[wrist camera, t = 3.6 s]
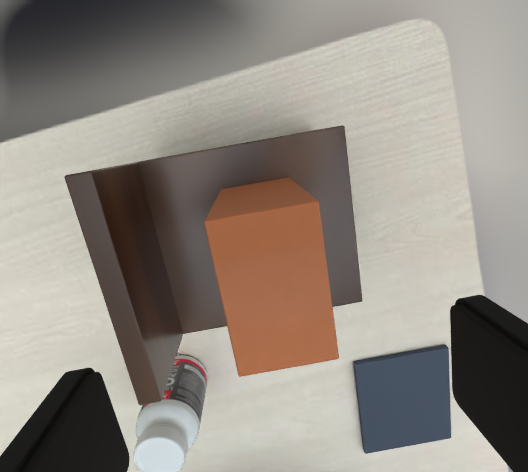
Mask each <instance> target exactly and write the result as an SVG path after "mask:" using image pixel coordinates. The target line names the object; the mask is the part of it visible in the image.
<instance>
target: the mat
mask: <svg viewBox="0 0 528 472" xmlns="http://www.w3.org/2000/svg"><path fill="white" fill-rule="evenodd" d="M353 364H354V372H355V381H356V389H357V398H358V406H359V415H360V424H361V432H362V441H363V449H364V452H365V454H366V453H372V452H377V451H383V450H388V449H394V448H399V447H405V446H410V445H416V444H421V443H426V442H432V441H437V440H443V439H448V438H451V420H450V386H449V351H448V347H447V346H446V345H441V346H436V347H430V348H425V349H419V350H414V351H408V352H403V353H397V354H392V355H386V356H381V357H375V358H370V359H364V360H359V361H354V362H353Z"/></svg>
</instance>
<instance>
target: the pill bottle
mask: <svg viewBox="0 0 528 472" xmlns="http://www.w3.org/2000/svg"><path fill="white" fill-rule="evenodd" d="M206 385H207V373H206V370H205V368H204V366H203V365H202V364H201V363H200V362H199V361H198V360H196V359H194V358H192V357H189V356H184V355H179V356H176V357H175V360H174V363H173V367H172V370H171V373H170V376H169V379H168V382H167V385H166V388H165V391H164V394H163V397H162V400H161V401H160V402H155V403H149V404H144V405H143V406H142V409H141V411H140V413H139V415H138V419H137V423H136V436H137V438H138V440H137V443H136V446H135V450H134V454H133V458H134V463H135V465H136V466H137V468H138V469H139V470H140V471H141V472H178V471H179V470H180V469H181V467H182V466H183V464H184V461H185V458H186V454H187V451H188V449H189V448H190V447H191V446H192V445H193V444H194V442H195V441H196V439H197V436H198V433H199V428H200V421H201V415H202V409H203V402H204V397H205V391H206Z"/></svg>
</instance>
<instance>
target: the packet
mask: <svg viewBox="0 0 528 472" xmlns="http://www.w3.org/2000/svg"><path fill="white" fill-rule="evenodd" d="M204 224H205V229H206V233H207V238H208V242H209V246H210V251H211V255H212V260H213V264H214V269H215V273H216V277H217V282H218V286H219V291H220V295H221V300H222V304H223V309H224V313H225V317H226V322H227V326H228V331H229V335H230V340H231V344H232V348H233V353H234V357H235V362H236V366H237V371H238V375H239V376H240V377H241V376H246V375H252V374H257V373H263V372H268V371H274V370H279V369H285V368H290V367H296V366H301V365H307V364H313V363H318V362H324V361H329V360H335V359H338V358H339V354H338V347H337V339H336V331H335V324H334V316H333V308H332V300H331V293H330V285H329V277H328V270H327V262H326V254H325V246H324V239H323V231H322V223H321V216H320V208H319V202H318V201H317V200H316V199H315V198H314V197H313V196H311V195H310V194H309V193H308V192H306V191H305V190H304V189H303V188H302V187H300V186H299V185H298V184H297V183H295V182H294V181H293V180H292V179H291V178H289V177H287V178H282V179H276V180H271V181H265V182H260V183H254V184H248V185H243V186H237V187H232V188H226V189H221V190H220V192H219V194H218V196H217V198H216V200H215V202H214V204H213V206H212V208H211V210H210V211H209V213H208V215H207V217H206V219H205V221H204Z"/></svg>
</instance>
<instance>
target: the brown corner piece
mask: <svg viewBox="0 0 528 472" xmlns="http://www.w3.org/2000/svg"><path fill="white" fill-rule="evenodd" d="M287 177H289V178H291V179H292V180H293V181H294V182H295V183H297V184H298V185H299V186H300V187H302V188H303V189H304V190H305V191H306V192H308V193H309V194H310V195H311V196H313V197H314V198H315V199H316V200H317V201H318V202H319V208H320V216H321V223H322V231H323V239H324V246H325V254H326V262H327V270H328V277H329V285H330V293H331V300H332V307H334V306H340V305H345V304H351V303H356V302H362V293H361V283H360V273H359V263H358V254H357V244H356V234H355V225H354V215H353V205H352V195H351V186H350V176H349V166H348V157H347V147H346V137H345V127H344V126H337V127H331V128H325V129H319V130H313V131H308V132H302V133H296V134H291V135H285V136H280V137H274V138H268V139H263V140H257V141H252V142H246V143H240V144H235V145H229V146H224V147H218V148H212V149H207V150H201V151H196V152H190V153H184V154H179V155H173V156H168V157H162V158H156V159H151V160H146V161H140V162H135V163H130V164H124V165H119V166H114V167H108V168H103V169H98V170H92V171H87V172H82V173H76V174H71V175H66V176H65V180H66V183H67V186H68V189H69V192H70V195H71V198H72V202H73V205H74V208H75V211H76V214H77V217H78V220H79V223H80V226H81V229H82V232H83V235H84V238H85V241H86V244H87V247H88V250H89V253H90V257H91V260H92V263H93V266H94V269H95V272H96V275H97V278H98V281H99V284H100V287H101V290H102V293H103V296H104V299H105V302H106V305H107V308H108V311H109V315H110V318H111V321H112V324H113V327H114V330H115V333H116V336H117V339H118V342H119V345H120V348H121V351H122V354H123V357H124V360H125V363H126V366H127V369H128V373H129V376H130V379H131V382H132V385H133V388H134V391H135V394H136V397H137V400H138V403H139V405H144V404H149V403H155V402H160V401H161V400H162V397H163V394H164V391H165V388H166V385H167V382H168V379H169V376H170V373H171V370H172V367H173V363H174V360H175V357H176V354H177V351H178V348H179V345H180V342H181V339H182V336H183V334H185V333H190V332H196V331H202V330H207V329H213V328H218V327H224V326H227V322H226V317H225V313H224V309H223V304H222V300H221V295H220V291H219V286H218V282H217V277H216V273H215V269H214V264H213V260H212V255H211V251H210V246H209V242H208V238H207V233H206V229H205V224H204V221H205V219H206V217H207V215H208V213H209V211H210V210H211V208H212V206H213V204H214V202H215V200H216V198H217V196H218V194H219V192H220V190H221V189H226V188H232V187H237V186H243V185H248V184H254V183H260V182H265V181H271V180H276V179H282V178H287Z"/></svg>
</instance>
